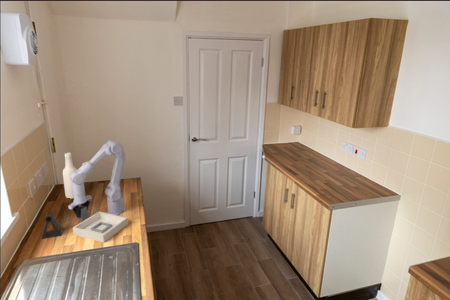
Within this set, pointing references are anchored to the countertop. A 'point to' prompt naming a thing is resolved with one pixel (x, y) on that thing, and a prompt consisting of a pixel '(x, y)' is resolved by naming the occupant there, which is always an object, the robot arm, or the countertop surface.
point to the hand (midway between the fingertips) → (81, 215)
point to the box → (100, 226)
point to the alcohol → (68, 175)
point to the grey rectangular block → (83, 213)
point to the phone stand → (55, 225)
